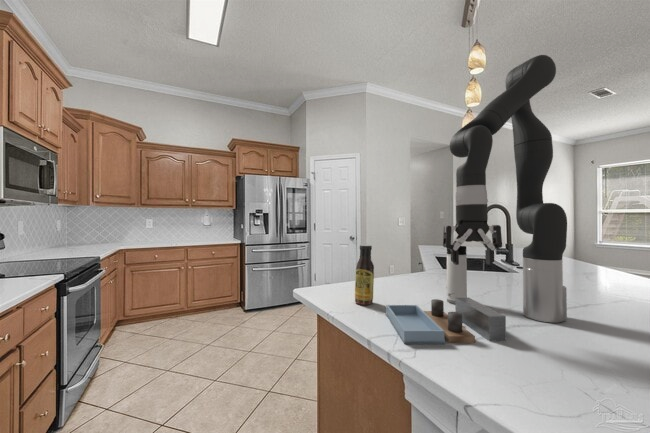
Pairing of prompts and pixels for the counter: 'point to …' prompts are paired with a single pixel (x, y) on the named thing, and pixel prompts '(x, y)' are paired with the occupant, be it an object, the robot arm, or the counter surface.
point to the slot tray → (414, 325)
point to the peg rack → (449, 323)
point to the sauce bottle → (364, 277)
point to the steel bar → (482, 319)
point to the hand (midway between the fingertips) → (472, 264)
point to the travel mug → (457, 276)
